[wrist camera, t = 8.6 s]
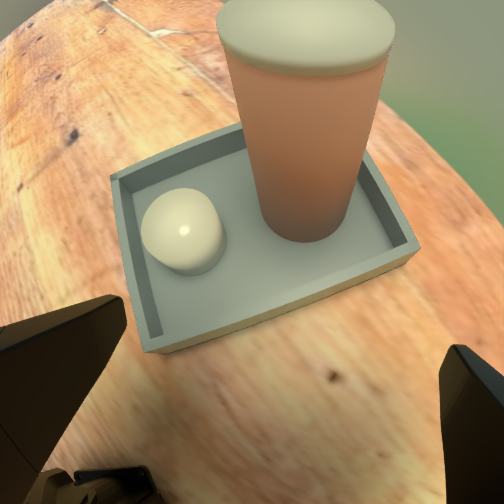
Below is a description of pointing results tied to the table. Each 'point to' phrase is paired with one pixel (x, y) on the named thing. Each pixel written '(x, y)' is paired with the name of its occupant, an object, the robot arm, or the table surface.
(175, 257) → the cream dome ball
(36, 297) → the table surface
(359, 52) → the coffee tin
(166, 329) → the grey shallow tray
